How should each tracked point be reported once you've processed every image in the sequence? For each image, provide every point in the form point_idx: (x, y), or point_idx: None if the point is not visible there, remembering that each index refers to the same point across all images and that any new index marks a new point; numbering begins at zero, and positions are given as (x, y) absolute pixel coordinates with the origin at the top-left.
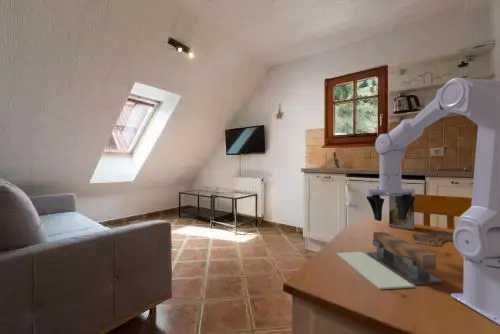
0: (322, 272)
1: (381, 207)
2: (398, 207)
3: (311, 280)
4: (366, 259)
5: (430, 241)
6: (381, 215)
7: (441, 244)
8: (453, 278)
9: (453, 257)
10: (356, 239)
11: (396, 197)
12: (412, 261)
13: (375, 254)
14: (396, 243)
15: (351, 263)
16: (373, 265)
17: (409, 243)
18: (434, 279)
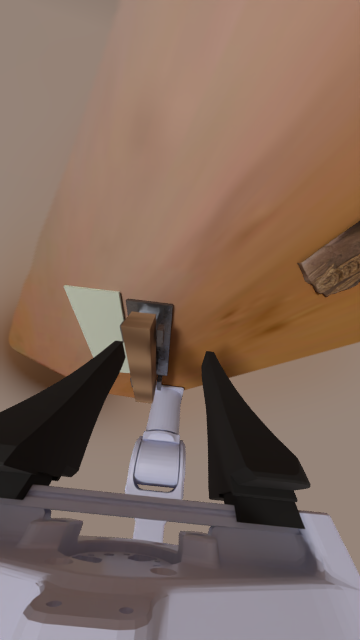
0: (42, 334)
1: (95, 413)
2: (216, 392)
3: (31, 345)
4: (112, 321)
5: (342, 273)
6: (115, 376)
7: (342, 290)
8: (188, 370)
9: (264, 338)
10: (155, 169)
11: (238, 461)
12: (132, 386)
13: (136, 311)
14: (131, 375)
15: (83, 327)
16: (113, 338)
17: (150, 381)
18: (160, 373)
